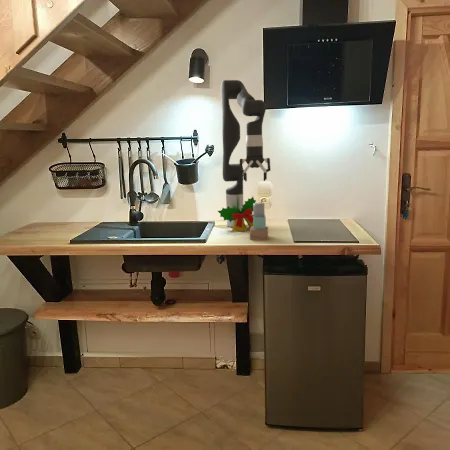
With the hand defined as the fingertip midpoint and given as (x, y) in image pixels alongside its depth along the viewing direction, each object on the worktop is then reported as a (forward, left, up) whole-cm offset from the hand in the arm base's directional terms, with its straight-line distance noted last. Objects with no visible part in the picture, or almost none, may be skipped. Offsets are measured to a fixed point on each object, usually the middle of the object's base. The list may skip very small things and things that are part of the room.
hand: (255, 181), depth 205 cm
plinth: (+1, +1, -27) cm, 27 cm away
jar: (+1, +2, -17) cm, 16 cm away
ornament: (-19, -10, -27) cm, 35 cm away
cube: (0, +2, -22) cm, 22 cm away
